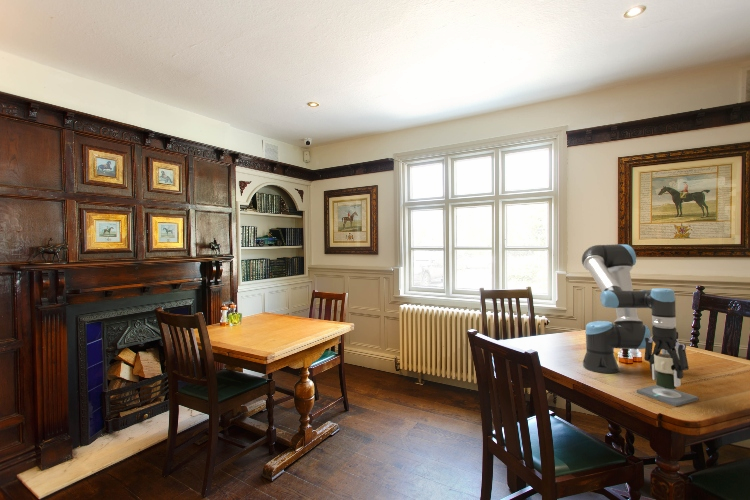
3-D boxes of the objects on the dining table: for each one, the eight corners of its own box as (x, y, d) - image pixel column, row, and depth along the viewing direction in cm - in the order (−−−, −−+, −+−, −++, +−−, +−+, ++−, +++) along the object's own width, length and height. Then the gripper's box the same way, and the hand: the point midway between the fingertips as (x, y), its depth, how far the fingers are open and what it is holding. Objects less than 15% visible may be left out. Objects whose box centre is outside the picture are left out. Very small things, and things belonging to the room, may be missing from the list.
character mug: (675, 394, 132) (673, 360, 133) (652, 388, 138) (650, 356, 138) (680, 386, 139) (679, 354, 140) (658, 381, 145) (656, 351, 145)
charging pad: (636, 392, 143) (636, 389, 143) (658, 387, 148) (658, 383, 148) (675, 406, 130) (675, 402, 130) (698, 400, 135) (698, 396, 135)
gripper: (632, 322, 147) (634, 375, 147) (687, 332, 128) (690, 393, 128) (643, 321, 150) (645, 373, 149) (699, 330, 131) (702, 390, 131)
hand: (666, 382), depth 139 cm, fingers closed on character mug, 7 cm apart
